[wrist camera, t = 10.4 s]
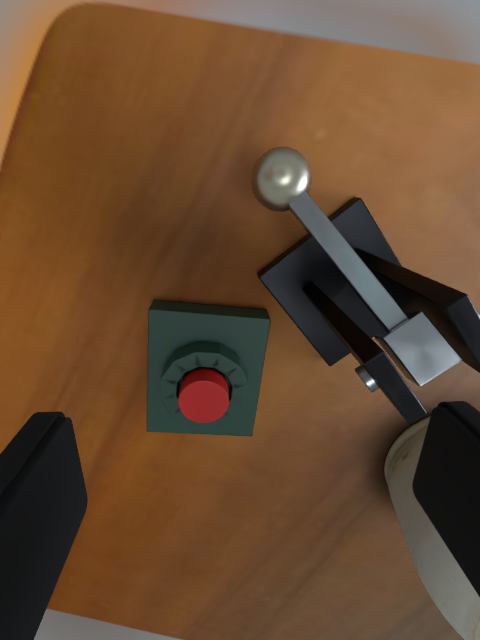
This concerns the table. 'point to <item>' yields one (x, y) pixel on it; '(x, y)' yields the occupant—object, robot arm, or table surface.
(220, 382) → the button
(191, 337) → the button box
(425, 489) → the robot arm
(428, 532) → the jug
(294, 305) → the bracket
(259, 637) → the table surface
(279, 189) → the lever
